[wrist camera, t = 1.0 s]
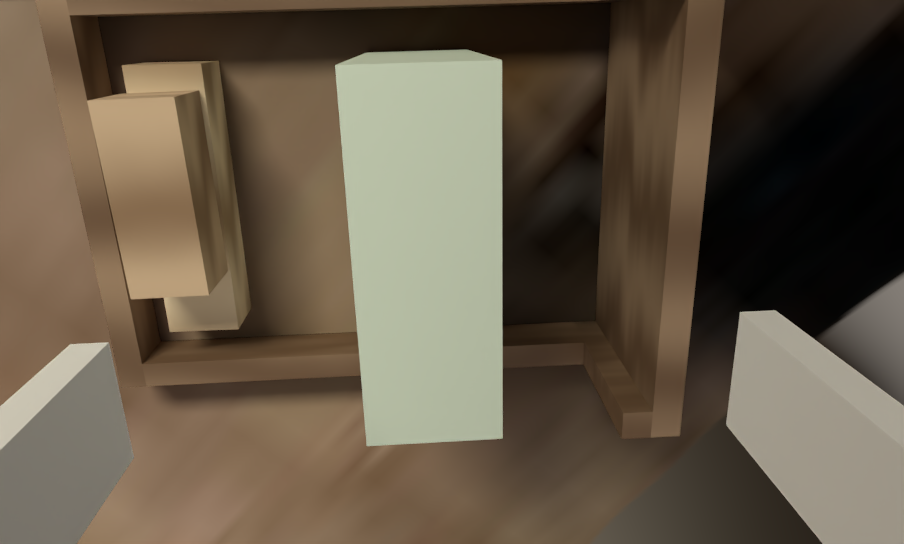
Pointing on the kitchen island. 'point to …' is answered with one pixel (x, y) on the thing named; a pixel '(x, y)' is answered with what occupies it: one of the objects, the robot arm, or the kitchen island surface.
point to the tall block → (425, 241)
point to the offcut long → (232, 291)
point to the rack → (524, 345)
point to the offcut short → (160, 192)
